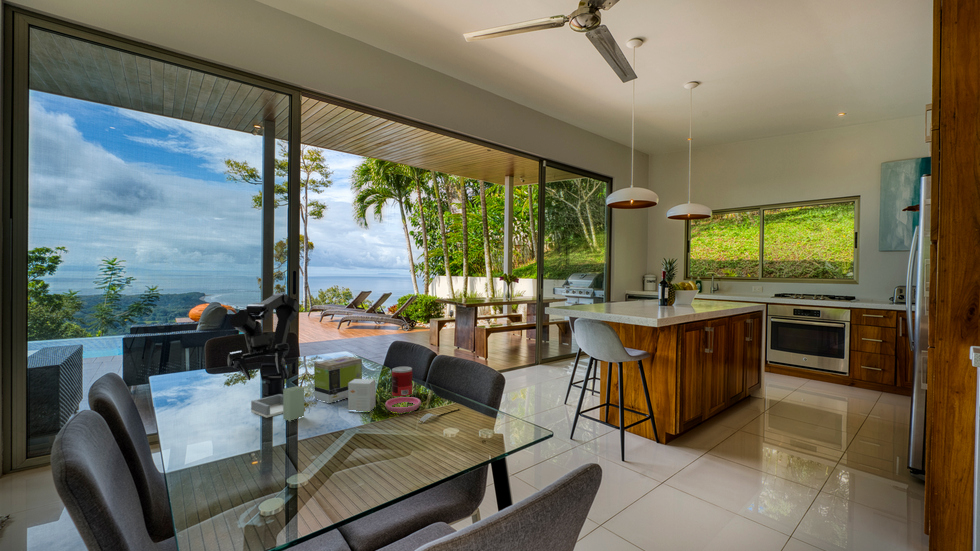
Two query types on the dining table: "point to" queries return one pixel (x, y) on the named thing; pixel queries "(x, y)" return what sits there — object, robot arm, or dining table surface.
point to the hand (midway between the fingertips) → (264, 376)
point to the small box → (361, 394)
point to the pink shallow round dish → (400, 400)
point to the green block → (293, 403)
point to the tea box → (335, 377)
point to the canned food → (401, 381)
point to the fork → (426, 417)
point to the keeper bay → (268, 406)
